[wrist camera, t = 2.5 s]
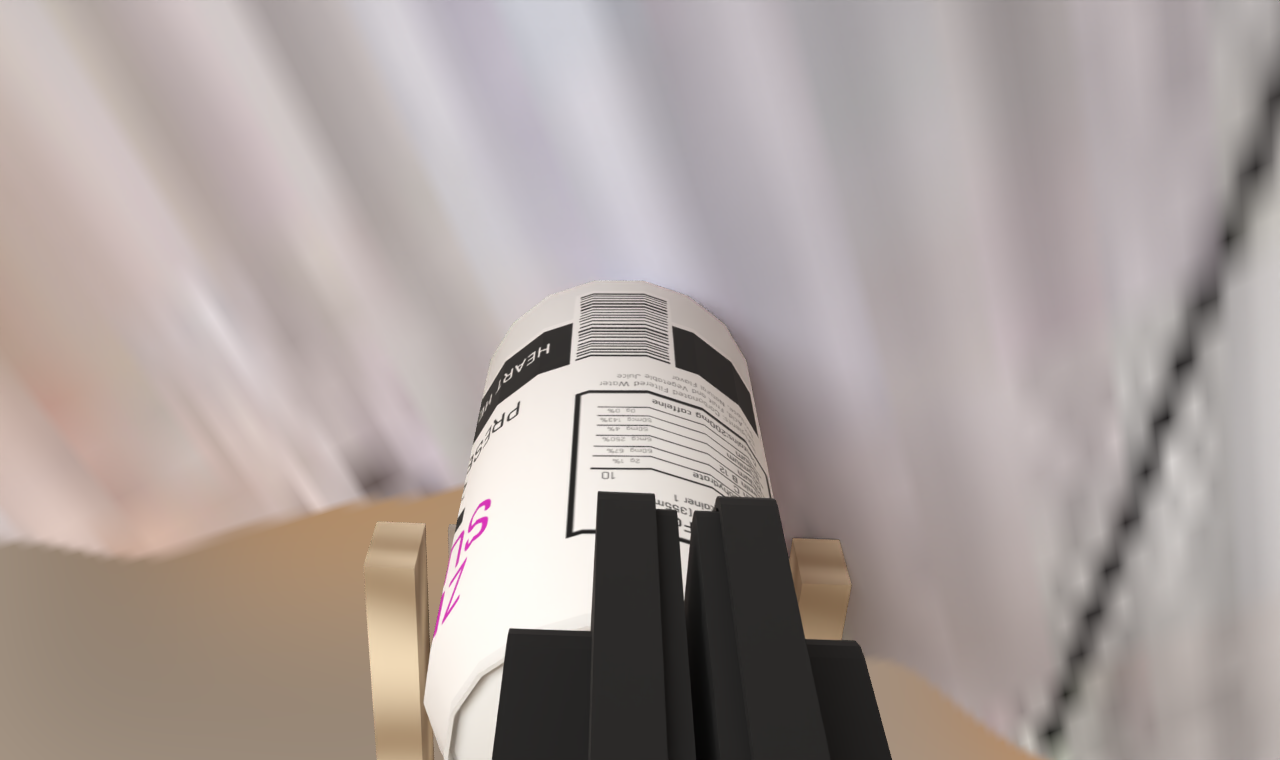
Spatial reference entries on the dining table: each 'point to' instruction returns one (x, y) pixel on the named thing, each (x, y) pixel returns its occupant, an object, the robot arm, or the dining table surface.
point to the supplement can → (580, 473)
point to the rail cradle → (405, 625)
